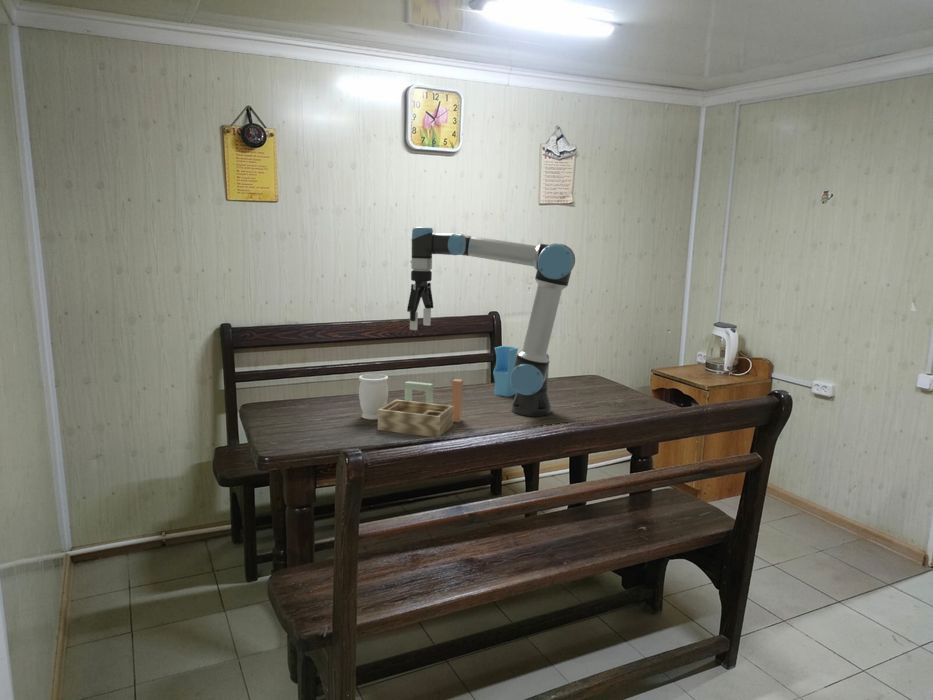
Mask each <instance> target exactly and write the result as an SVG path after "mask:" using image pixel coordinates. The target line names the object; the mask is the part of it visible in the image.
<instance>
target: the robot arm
mask: <svg viewBox="0 0 933 700" xmlns="http://www.w3.org/2000/svg"><path fill="white" fill-rule="evenodd" d="M411 232H412V233H411V259H410V264H411V271H410V272H411V273H410V279H411V281H413V282H415V283H412V284H411V286H410V294H409V299H408V303H407V307H406V308H407V310H406V311H407V312H408V313H409V330H410V331H418V325H419V323H418V322H419V321H418V318H419V315H418V313H419V312H418V308H419V306H420V301H421V300H422V302H423V303H422V304H423V306H424V308H423V316H422V317H423V320H422V321H423V322H422V323H423V324H422V325H423V326H426V327H427V326H428V327H429V326H432V325H431V321H432V320H431V318H432V309H434V301H433V295H432V294H433V292H432V283H431V281H432V279H433V277H432V276H433V275H432V269H433V255H444V256H445V255H448V256H449V255H450V256H465V257H466V256H467V257H472V258H478V259H486V260H493V261H498V262H505V263H511V264H516V265H517V264H518V265H523V266H528V267H534V269H535V270H536V274H535V277H534V279H535V281H536V283H537V287H536V288H537V289H536V293H535V296H534V300H533V303H532V308H531V312H530V317H529V321H528V326H527V330H526V334H525V338H524V341H523V347H522V350H520V351H517V356H516V361H515V365H514V369H513V370H512V372H511V375H510V381H511V385H512V387H513V388H514V389H515V390H516V391H517V392H516V394H515V395H514V398H513V400H512V402H511V411H512V412H513V414H518V415H521V416H527V417H545V416H548V415H550V414H551V412H552V405H551V401H550V397H549V394H548V388H549V387H548V386H549V385H548V384H549V369H550V368H549V366H550V362H551V361H550V355H549V354H547V352H548V348H549V344H550V340H551V337H552V333H553V328H554V324H555V320H556V317H557V316H556V315H557V312H558V308H559V304H560V300H561V296H562V292H563V291H564V289H566V288H567V287H568V286H569V281H570V278H571V274H572V270H573V269H574V266H575V263H576V255H575V253H574V251H573V250H572V248H571V247H569V246H567V245H565V244H563V243H552V244H545V243H540V244H538V245H534V244H526V243H519V242H512V241H508V240H506V241H505V240H500V239H493V238H486V237H480V236H473V235H472V236H471V235H466V234H463V233H462V234H461V233H436V232H434V229H433V228H432V227H429V226H427V227H423V226H415V227H413V228H412V231H411Z"/></svg>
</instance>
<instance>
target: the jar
mask: <svg viewBox="0 0 933 700" xmlns="http://www.w3.org/2000/svg"><path fill="white" fill-rule="evenodd" d="M358 380H359V381H360V383H359V386H358V399H359V404H360V408H361V412H362V414H361V418H363V419H365V420H372V421H373V420H374V421H376V420H378V409H380V408H382V407H383V406H385V405H387V404H388V399H389V386H388V380H389V376H388V375H386V374H380V373H378V374H377V373H366V374H361V375H359V376H358Z"/></svg>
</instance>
